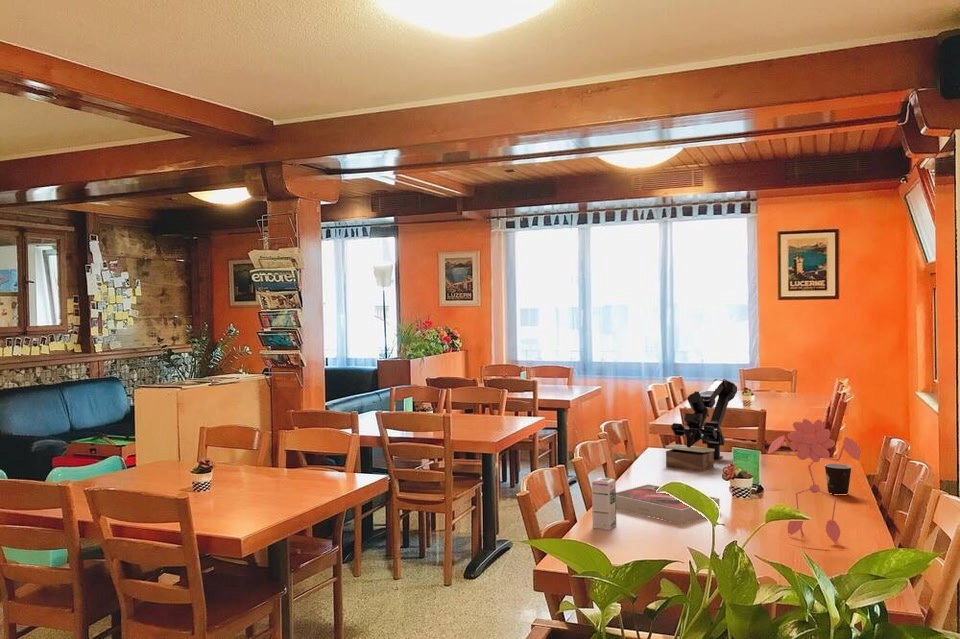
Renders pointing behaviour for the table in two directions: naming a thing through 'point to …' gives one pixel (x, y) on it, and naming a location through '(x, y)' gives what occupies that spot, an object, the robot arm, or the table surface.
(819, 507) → the table surface
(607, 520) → the syrup box
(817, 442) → the pink flower figurine
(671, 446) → the lid
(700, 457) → the walnut box
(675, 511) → the product packaging
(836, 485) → the coffee mug
